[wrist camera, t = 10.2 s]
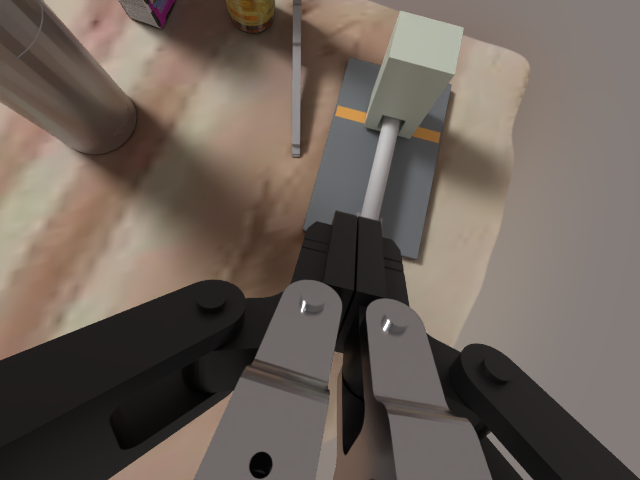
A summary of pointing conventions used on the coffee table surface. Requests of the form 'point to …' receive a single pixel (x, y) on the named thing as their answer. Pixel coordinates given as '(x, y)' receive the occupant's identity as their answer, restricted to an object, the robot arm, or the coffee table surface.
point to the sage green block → (413, 71)
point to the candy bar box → (149, 11)
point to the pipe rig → (377, 164)
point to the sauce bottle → (251, 14)
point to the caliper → (296, 78)
